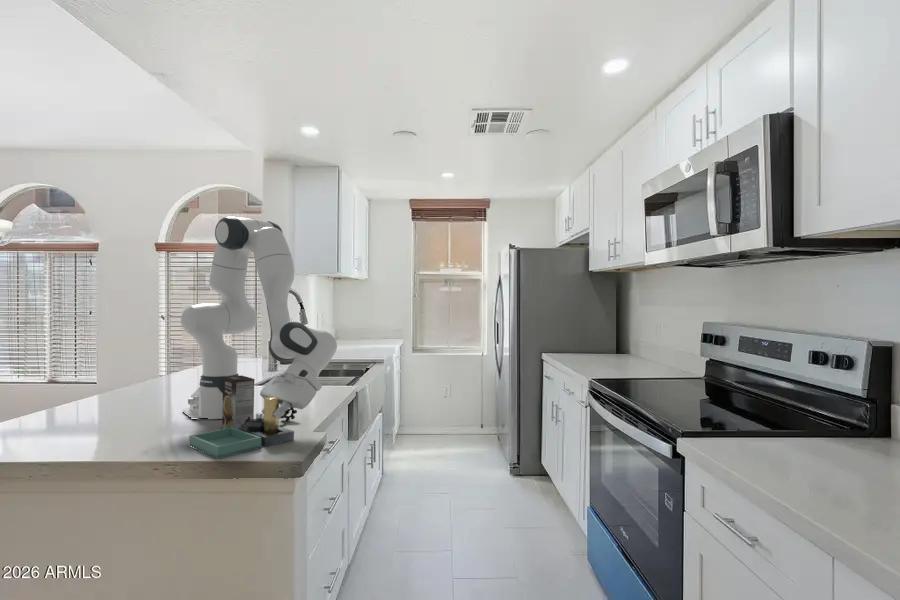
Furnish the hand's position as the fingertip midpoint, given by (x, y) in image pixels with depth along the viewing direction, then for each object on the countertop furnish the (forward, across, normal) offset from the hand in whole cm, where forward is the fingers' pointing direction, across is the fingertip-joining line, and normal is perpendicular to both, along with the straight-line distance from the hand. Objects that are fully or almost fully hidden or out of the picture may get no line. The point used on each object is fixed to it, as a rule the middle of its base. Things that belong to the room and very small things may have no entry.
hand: (269, 415), depth 142 cm
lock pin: (+5, 0, +6) cm, 7 cm away
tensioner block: (+5, -3, +6) cm, 8 cm away
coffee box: (+5, -19, +6) cm, 20 cm away
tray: (+13, -3, -3) cm, 14 cm away
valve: (-3, -14, +14) cm, 20 cm away
